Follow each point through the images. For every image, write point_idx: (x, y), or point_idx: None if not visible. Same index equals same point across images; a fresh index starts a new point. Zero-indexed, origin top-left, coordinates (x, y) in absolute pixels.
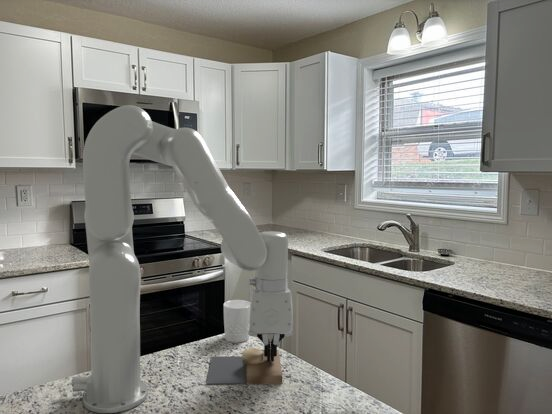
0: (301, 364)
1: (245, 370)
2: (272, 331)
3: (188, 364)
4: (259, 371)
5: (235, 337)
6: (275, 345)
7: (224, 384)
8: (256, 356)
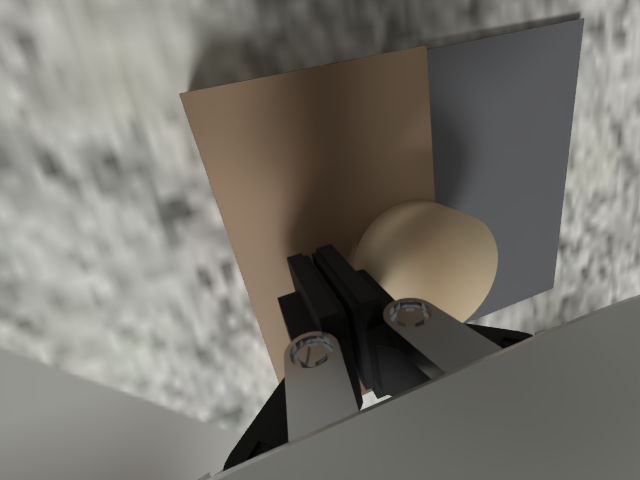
0: (139, 370)
1: None
2: (446, 417)
3: (623, 207)
4: (355, 127)
5: None
6: (307, 342)
7: (501, 35)
8: (414, 230)
